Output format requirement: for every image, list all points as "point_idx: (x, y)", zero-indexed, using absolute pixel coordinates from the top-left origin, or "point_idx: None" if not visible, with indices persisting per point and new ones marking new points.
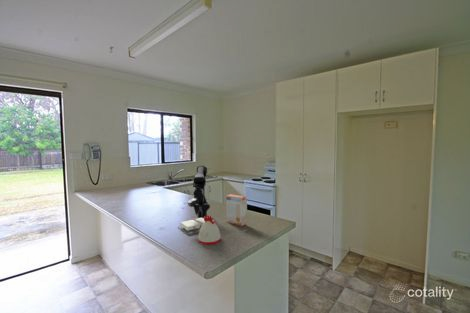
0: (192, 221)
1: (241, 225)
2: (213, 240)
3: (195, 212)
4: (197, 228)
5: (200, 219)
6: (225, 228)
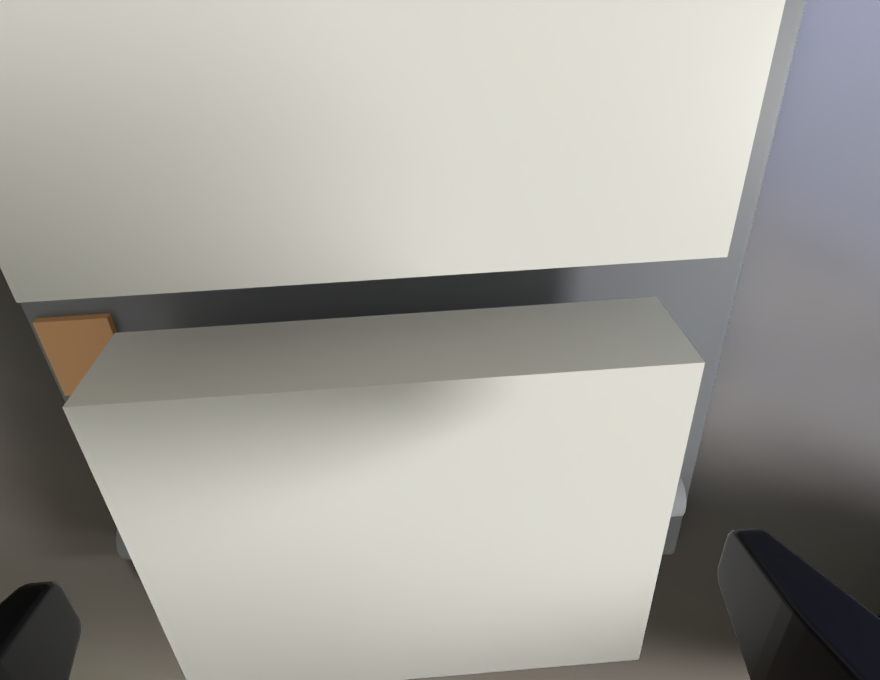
0: (511, 154)
1: None
2: None
3: (832, 621)
4: None
5: (513, 482)
6: None
